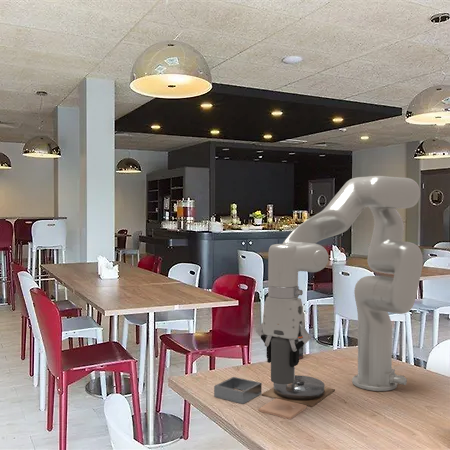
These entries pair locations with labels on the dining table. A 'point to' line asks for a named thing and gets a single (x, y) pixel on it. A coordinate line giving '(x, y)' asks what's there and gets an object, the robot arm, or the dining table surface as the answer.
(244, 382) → the collar
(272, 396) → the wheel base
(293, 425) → the dining table surface
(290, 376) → the bottle
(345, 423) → the dining table surface
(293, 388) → the handwheel
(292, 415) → the pad
